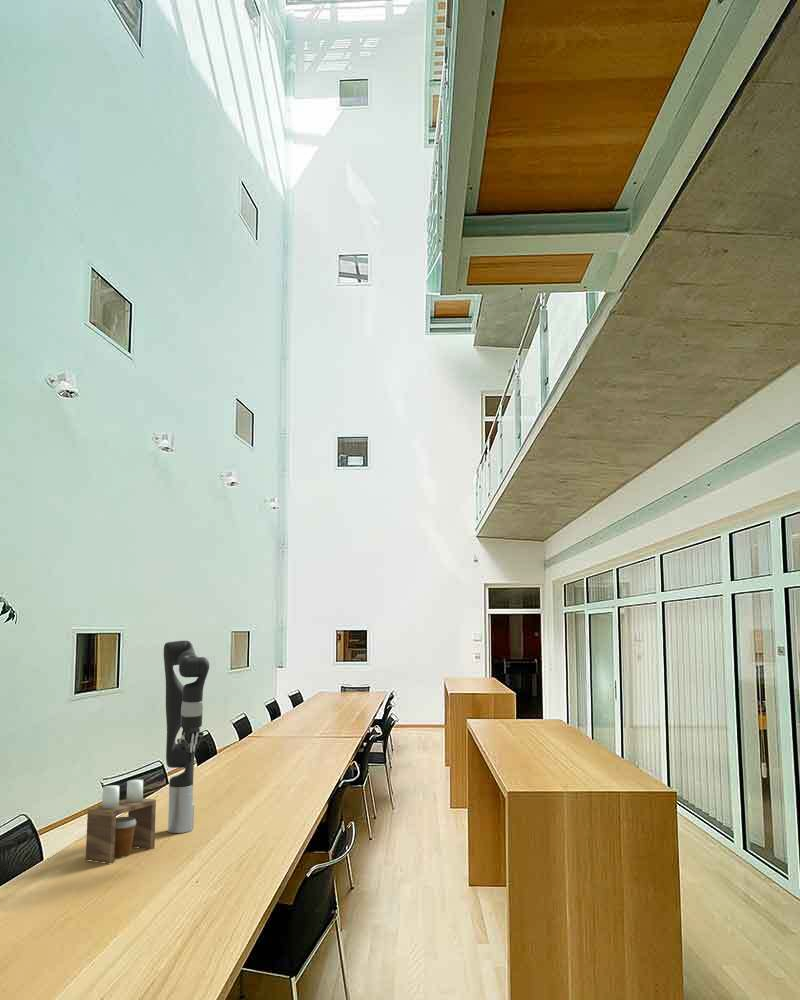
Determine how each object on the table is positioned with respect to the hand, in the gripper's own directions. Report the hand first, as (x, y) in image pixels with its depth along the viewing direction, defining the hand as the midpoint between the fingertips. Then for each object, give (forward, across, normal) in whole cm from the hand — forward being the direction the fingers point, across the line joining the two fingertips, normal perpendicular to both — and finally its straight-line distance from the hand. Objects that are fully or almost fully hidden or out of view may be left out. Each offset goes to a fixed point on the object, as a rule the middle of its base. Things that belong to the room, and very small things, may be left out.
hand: (189, 761), depth 299 cm
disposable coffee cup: (+33, +11, -18) cm, 39 cm away
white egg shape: (+16, +4, -20) cm, 26 cm away
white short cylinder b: (+15, +15, -21) cm, 30 cm away
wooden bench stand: (+33, +11, -19) cm, 39 cm away
